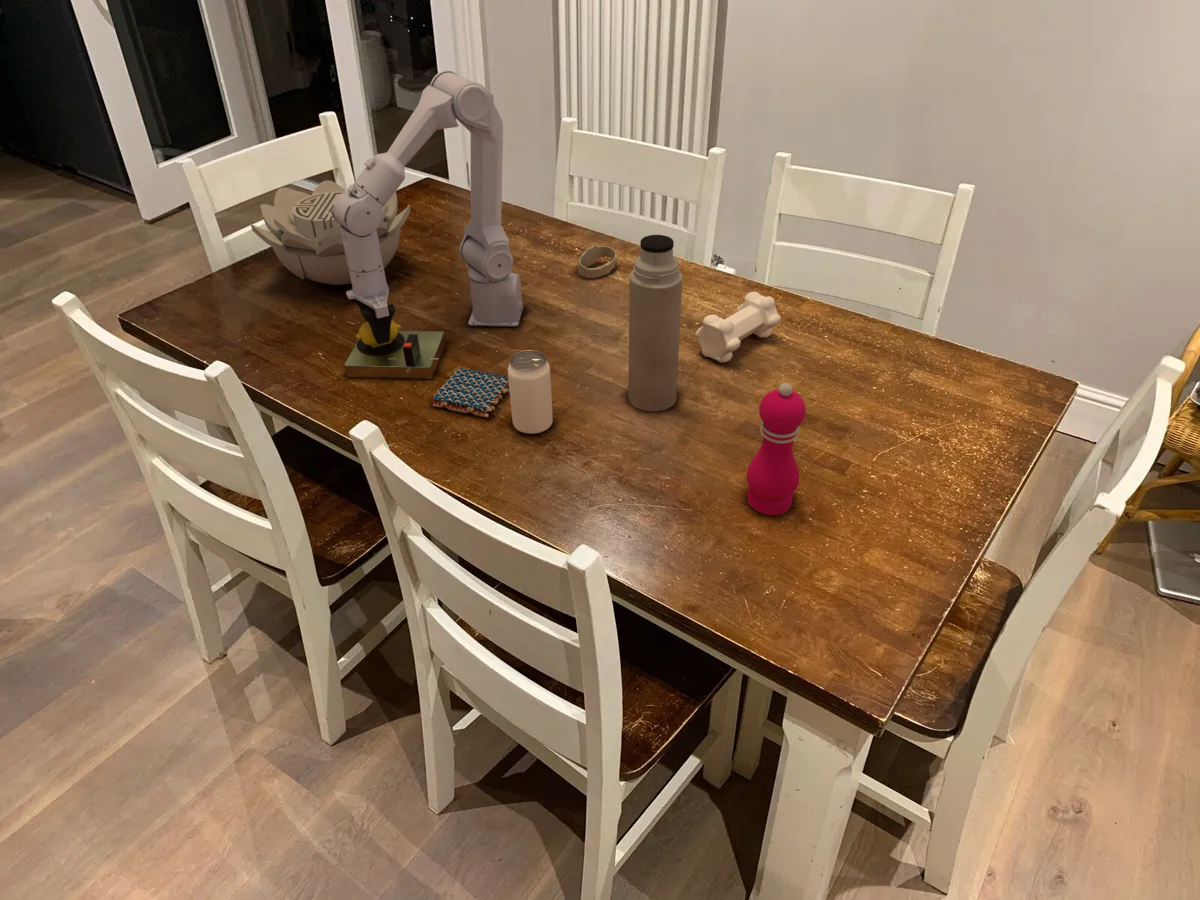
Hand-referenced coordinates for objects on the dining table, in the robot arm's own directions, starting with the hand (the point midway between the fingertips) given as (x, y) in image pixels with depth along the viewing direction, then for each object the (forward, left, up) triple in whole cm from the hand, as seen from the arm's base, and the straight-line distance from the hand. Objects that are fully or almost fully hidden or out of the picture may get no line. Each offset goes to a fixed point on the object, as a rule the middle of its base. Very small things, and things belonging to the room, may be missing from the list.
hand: (379, 335), depth 152 cm
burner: (0, 0, -2) cm, 2 cm away
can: (-30, +19, -4) cm, 36 cm away
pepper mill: (-66, +36, -4) cm, 75 cm away
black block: (-7, +5, -2) cm, 9 cm away
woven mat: (-19, +12, -4) cm, 23 cm away
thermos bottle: (-49, +11, -4) cm, 50 cm away
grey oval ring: (-37, -35, -4) cm, 50 cm away
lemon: (0, 0, -1) cm, 1 cm away
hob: (-3, +2, -4) cm, 6 cm away
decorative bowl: (+15, -32, -4) cm, 35 cm away
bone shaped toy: (-64, -6, -4) cm, 64 cm away
